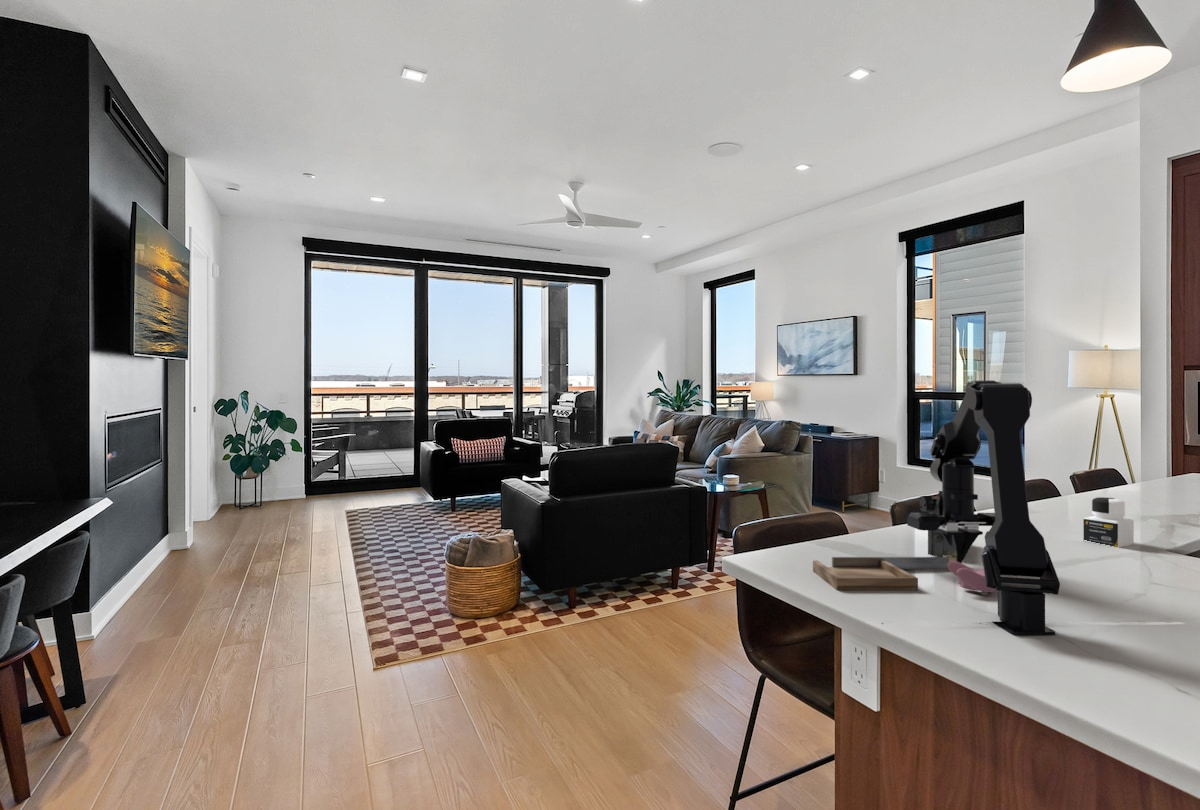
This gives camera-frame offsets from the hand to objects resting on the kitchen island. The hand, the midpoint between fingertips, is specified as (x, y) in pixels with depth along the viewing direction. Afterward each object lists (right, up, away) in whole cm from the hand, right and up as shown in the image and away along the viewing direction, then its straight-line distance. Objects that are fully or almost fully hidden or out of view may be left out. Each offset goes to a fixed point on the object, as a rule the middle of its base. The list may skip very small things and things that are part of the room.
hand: (958, 562), depth 128 cm
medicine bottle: (+47, -2, +19) cm, 51 cm away
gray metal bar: (-14, -1, 0) cm, 14 cm away
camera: (+5, -2, +15) cm, 16 cm away
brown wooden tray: (-23, -1, -7) cm, 24 cm away
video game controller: (-9, +1, -12) cm, 15 cm away
